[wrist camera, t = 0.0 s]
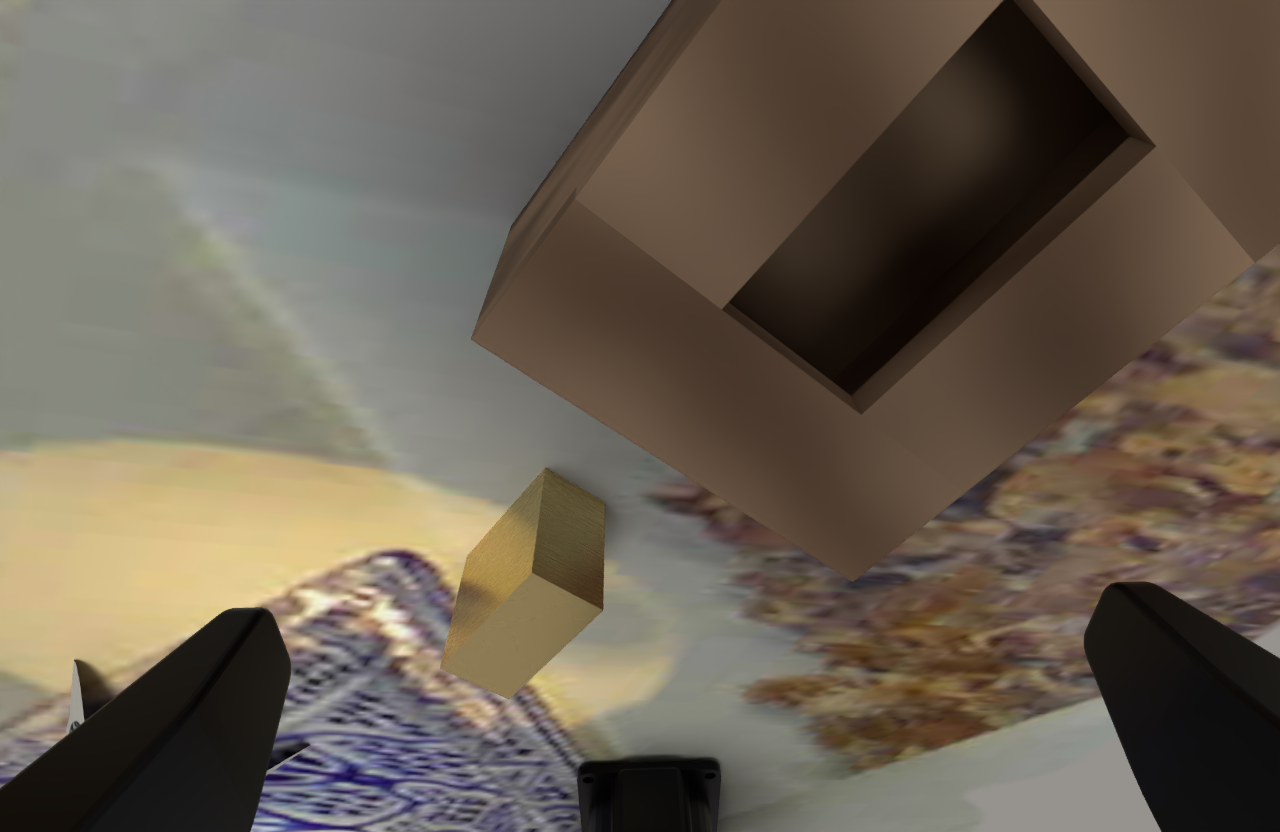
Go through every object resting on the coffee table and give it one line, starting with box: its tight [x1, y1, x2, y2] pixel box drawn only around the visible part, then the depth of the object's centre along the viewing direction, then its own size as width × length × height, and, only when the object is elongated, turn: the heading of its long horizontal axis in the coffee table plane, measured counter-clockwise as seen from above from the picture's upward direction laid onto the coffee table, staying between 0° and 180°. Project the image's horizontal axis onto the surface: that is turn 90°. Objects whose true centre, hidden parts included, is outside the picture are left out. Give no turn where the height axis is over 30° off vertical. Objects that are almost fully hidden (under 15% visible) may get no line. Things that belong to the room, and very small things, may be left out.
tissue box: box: [471, 0, 1280, 582], centre depth 17 cm, size 14×11×7 cm
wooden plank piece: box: [440, 468, 605, 699], centre depth 24 cm, size 5×2×5 cm, turn 141°
